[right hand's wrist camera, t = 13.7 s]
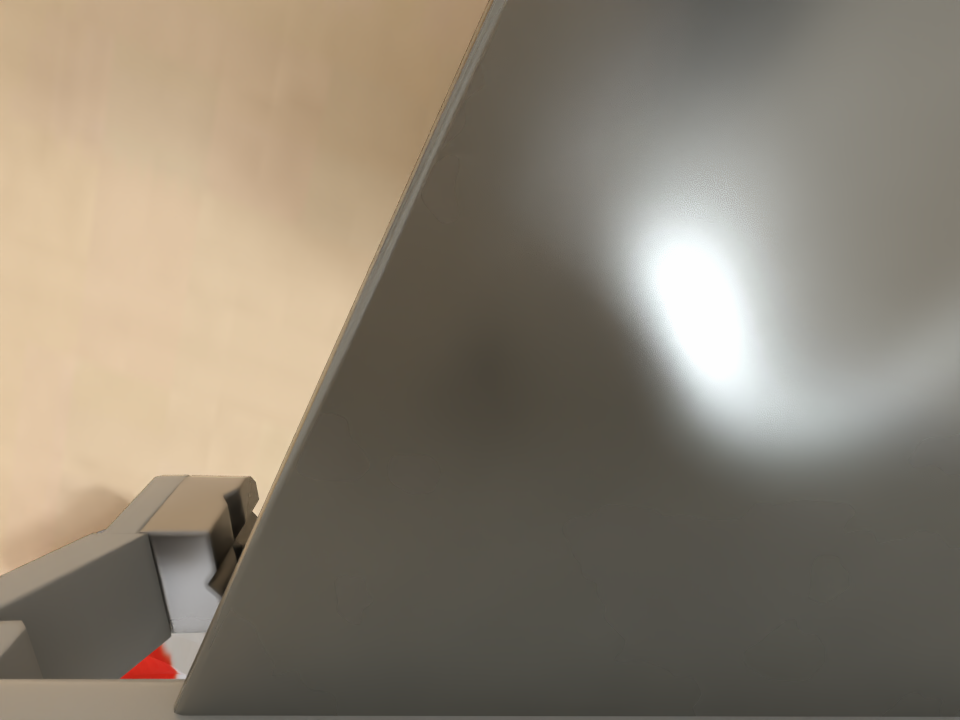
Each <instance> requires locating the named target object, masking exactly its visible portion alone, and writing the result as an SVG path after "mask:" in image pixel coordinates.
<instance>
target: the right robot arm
mask: <svg viewBox="0 0 960 720" xmlns="http://www.w3.org/2000/svg"><path fill="white" fill-rule="evenodd" d="M258 500H259V497H258V492H257V486H256V482H255V481H254V480H253V479H252V477H251V476H203V475H192V476H190V475H162V476H157V477H155V478H154V479H153V480H152V481H151V482H150V483H149V484H148V485H147V486H146V487H145V488H144V489H143V490H142V491H141V492H140V494H139V495H138V496H137V497H136V498H135V499H134V500H133V501H132V502H131V503H130V504H129V505H128V506H127V507H126V508H125V510H124V511H123V512H122V513H121V514H120V515H119V516H118V517H117V518H116V519H115V520H114V521H113V522H112V523H111V525H110V526H109V527H108V528H107V529H106V530H105V531H104V532H103V533H92V534H90V535H87V536H85V537H83V538H81V539H79V540H77V541H75V542H72V543H70V544H68V545H66V546H64V547H62V548H59V549H57V550H55V551H53V552H51V553H49V554H47V555H44V556H42V557H40V558H38V559H36V560H34V561H31V562H29V563H27V564H25V565H23V566H21V567H19V568H16V569H14V570H12V571H10V572H8V573H6V574H4V575H1V576H0V720H960V717H715V716H182V715H179V714H176V713H174V704H175V701H176V699H177V697H178V695H179V693H180V690H181V688H182V686H183V684H184V681H185V679H120V678H121V677H122V676H124V675H125V674H126V673H127V672H129V671H130V670H131V669H132V668H134V667H135V666H136V665H137V664H138V663H140V662H141V661H142V660H143V659H145V658H146V657H147V656H148V655H149V654H151V653H152V652H153V651H154V650H156V649H157V648H158V647H159V646H160V645H162V644H163V643H164V642H165V641H167V640H168V639H169V638H170V637H171V636H172V635H171V634H172V633H206V632H207V630H208V628H209V625H210V623H211V621H212V619H213V616H214V614H215V612H216V610H217V607H218V605H219V603H220V601H221V599H222V596H223V594H224V592H225V590H226V587H227V585H228V583H229V581H230V578H231V576H232V574H233V572H234V569H235V567H236V565H237V563H238V560H239V558H240V556H241V554H242V552H243V549H244V547H245V545H246V543H247V540H248V538H249V536H250V534H251V531H252V529H253V527H254V525H255V522H256V520H257V518H258V517H257V516H256V515H255V514H254V513H253V512H252V511H253V509H254V507H255V505H256V504H257V502H258Z"/></svg>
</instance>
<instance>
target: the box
mask: <svg viewBox="0 0 960 720" xmlns="http://www.w3.org/2000/svg"><path fill="white" fill-rule="evenodd" d="M174 713H176V714H179V715H182V716H715V717H960V0H489V1H488V3H487V6H486V8H485V10H484V12H483V15H482V17H481V19H480V21H479V23H478V26H477V28H476V30H475V32H474V35H473V37H472V39H471V41H470V44H469V46H468V48H467V50H466V53H465V55H464V57H463V59H462V62H461V64H460V66H459V68H458V70H457V73H456V75H455V77H454V79H453V82H452V84H451V86H450V88H449V91H448V93H447V95H446V97H445V100H444V102H443V104H442V106H441V109H440V111H439V113H438V115H437V117H436V120H435V122H434V124H433V126H432V129H431V131H430V133H429V135H428V138H427V140H426V142H425V144H424V147H423V149H422V151H421V153H420V155H419V158H418V160H417V162H416V164H415V167H414V169H413V171H412V173H411V176H410V178H409V180H408V182H407V185H406V187H405V189H404V191H403V194H402V196H401V198H400V200H399V202H398V205H397V207H396V209H395V211H394V214H393V216H392V218H391V220H390V223H389V225H388V227H387V229H386V232H385V234H384V236H383V238H382V241H381V243H380V245H379V247H378V249H377V252H376V254H375V256H374V258H373V261H372V263H371V265H370V267H369V270H368V272H367V274H366V276H365V279H364V281H363V283H362V285H361V288H360V290H359V292H358V294H357V296H356V299H355V301H354V303H353V305H352V308H351V310H350V312H349V314H348V317H347V319H346V321H345V323H344V326H343V328H342V330H341V332H340V335H339V337H338V339H337V341H336V343H335V346H334V348H333V350H332V352H331V355H330V357H329V359H328V361H327V364H326V366H325V368H324V370H323V373H322V375H321V377H320V379H319V381H318V384H317V386H316V388H315V390H314V393H313V395H312V397H311V399H310V402H309V404H308V406H307V408H306V411H305V413H304V415H303V417H302V420H301V422H300V424H299V426H298V428H297V431H296V433H295V435H294V437H293V440H292V442H291V444H290V446H289V449H288V451H287V453H286V455H285V458H284V460H283V462H282V464H281V467H280V469H279V471H278V473H277V475H276V478H275V480H274V482H273V484H272V487H271V489H270V491H269V493H268V496H267V498H266V500H265V502H264V505H263V507H262V509H261V511H260V514H259V516H258V518H257V520H256V522H255V525H254V527H253V529H252V531H251V534H250V536H249V538H248V540H247V543H246V545H245V547H244V549H243V552H242V554H241V556H240V558H239V560H238V563H237V565H236V567H235V569H234V572H233V574H232V576H231V578H230V581H229V583H228V585H227V587H226V590H225V592H224V594H223V596H222V599H221V601H220V603H219V605H218V607H217V610H216V612H215V614H214V616H213V619H212V621H211V623H210V625H209V628H208V630H207V632H206V634H205V637H204V639H203V641H202V643H201V646H200V648H199V650H198V652H197V654H196V657H195V659H194V661H193V663H192V666H191V668H190V670H189V672H188V675H187V677H186V679H185V681H184V684H183V686H182V688H181V690H180V693H179V695H178V697H177V699H176V701H175V704H174Z"/></svg>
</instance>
